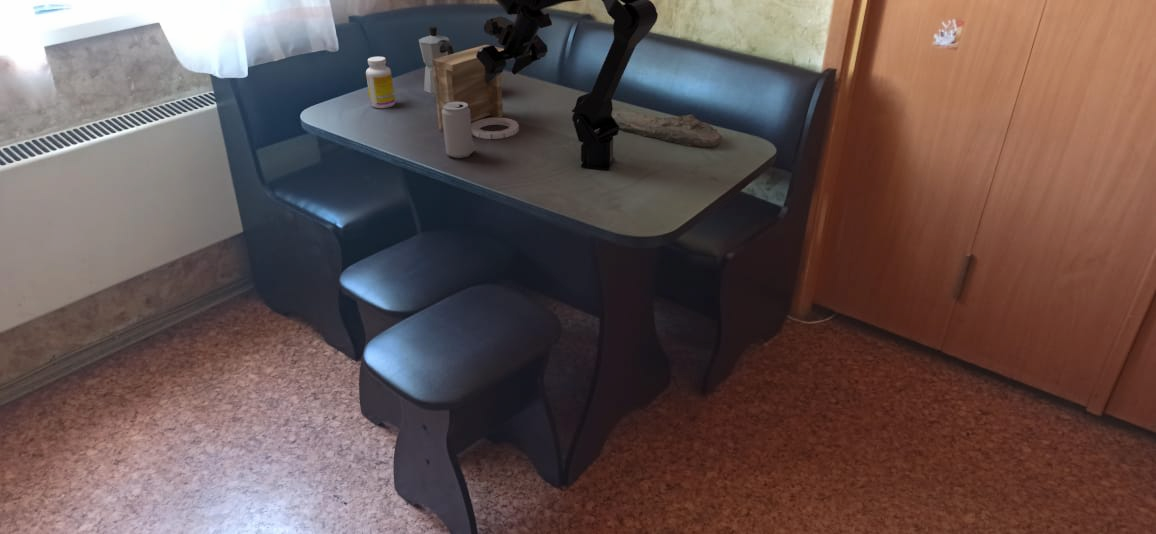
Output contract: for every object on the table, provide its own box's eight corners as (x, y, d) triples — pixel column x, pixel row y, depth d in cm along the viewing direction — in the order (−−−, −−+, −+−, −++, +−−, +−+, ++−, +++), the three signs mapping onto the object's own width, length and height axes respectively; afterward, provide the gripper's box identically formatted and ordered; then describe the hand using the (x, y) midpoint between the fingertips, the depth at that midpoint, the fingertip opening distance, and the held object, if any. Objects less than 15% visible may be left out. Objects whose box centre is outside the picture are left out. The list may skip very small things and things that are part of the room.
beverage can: (468, 160, 181) (464, 110, 175) (442, 158, 182) (437, 108, 176) (477, 150, 186) (473, 101, 180) (451, 148, 187) (446, 99, 181)
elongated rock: (609, 119, 209) (588, 132, 202) (608, 100, 206) (587, 112, 199) (729, 139, 190) (710, 154, 184) (729, 118, 188) (710, 133, 181)
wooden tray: (509, 117, 205) (506, 49, 196) (458, 136, 194) (452, 65, 185) (490, 111, 210) (486, 44, 200) (439, 130, 198) (432, 59, 189)
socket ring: (524, 124, 201) (524, 119, 200) (508, 140, 191) (508, 136, 191) (481, 120, 204) (481, 115, 203) (463, 136, 194) (462, 131, 193)
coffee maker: (414, 88, 228) (406, 25, 219) (439, 81, 233) (433, 20, 224) (443, 100, 218) (436, 35, 209) (468, 93, 224) (463, 29, 214)
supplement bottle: (400, 103, 216) (394, 57, 209) (383, 110, 211) (376, 63, 205) (382, 99, 219) (376, 54, 212) (365, 106, 214) (358, 59, 208)
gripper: (530, -3, 184) (506, 46, 195) (472, 11, 171) (450, 62, 182) (560, 30, 182) (534, 77, 193) (504, 46, 169) (480, 96, 181)
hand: (500, 77), depth 187 cm, fingers open, 9 cm apart
